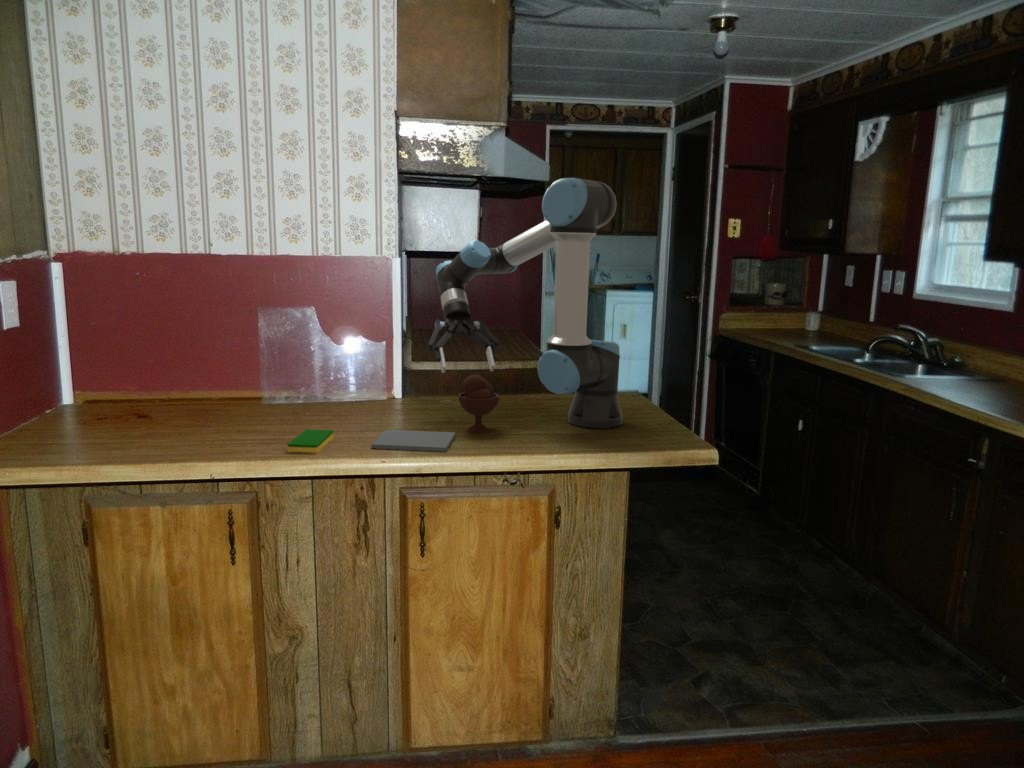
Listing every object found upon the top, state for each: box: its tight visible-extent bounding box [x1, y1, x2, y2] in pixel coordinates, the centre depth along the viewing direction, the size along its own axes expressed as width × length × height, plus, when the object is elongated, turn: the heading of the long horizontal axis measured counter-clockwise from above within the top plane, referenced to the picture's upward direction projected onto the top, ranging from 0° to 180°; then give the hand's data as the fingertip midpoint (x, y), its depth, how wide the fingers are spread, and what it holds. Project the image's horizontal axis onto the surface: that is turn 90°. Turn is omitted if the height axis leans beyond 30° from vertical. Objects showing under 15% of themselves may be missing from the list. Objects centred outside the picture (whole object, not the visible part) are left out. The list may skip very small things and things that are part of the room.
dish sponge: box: [286, 429, 335, 454], centre depth 180 cm, size 7×14×2 cm, turn 177°
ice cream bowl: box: [457, 374, 500, 434], centre depth 195 cm, size 11×11×15 cm
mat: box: [370, 429, 456, 453], centre depth 184 cm, size 18×14×1 cm
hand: (468, 369), depth 202 cm, fingers open, 13 cm apart
